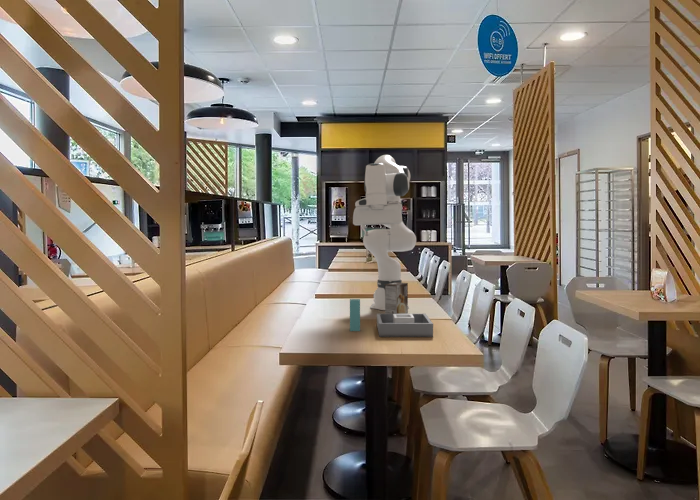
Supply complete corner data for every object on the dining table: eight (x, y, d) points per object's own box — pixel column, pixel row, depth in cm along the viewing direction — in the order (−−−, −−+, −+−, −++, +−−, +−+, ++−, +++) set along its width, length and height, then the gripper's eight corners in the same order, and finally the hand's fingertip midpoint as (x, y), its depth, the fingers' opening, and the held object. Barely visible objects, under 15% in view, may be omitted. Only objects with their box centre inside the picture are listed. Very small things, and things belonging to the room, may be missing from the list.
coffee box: (395, 317, 219) (395, 281, 218) (408, 319, 215) (408, 282, 214) (384, 321, 212) (384, 284, 211) (397, 322, 208) (397, 285, 207)
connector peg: (350, 328, 197) (349, 299, 196) (360, 328, 197) (359, 299, 196) (349, 331, 193) (349, 300, 192) (360, 331, 193) (360, 300, 192)
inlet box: (376, 325, 203) (376, 311, 202) (425, 325, 203) (425, 311, 202) (379, 337, 183) (379, 321, 182) (433, 337, 183) (433, 321, 182)
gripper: (401, 202, 205) (402, 235, 204) (352, 203, 205) (353, 236, 204) (402, 199, 198) (404, 234, 198) (352, 201, 198) (353, 235, 198)
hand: (378, 235), depth 201 cm, fingers open, 8 cm apart
